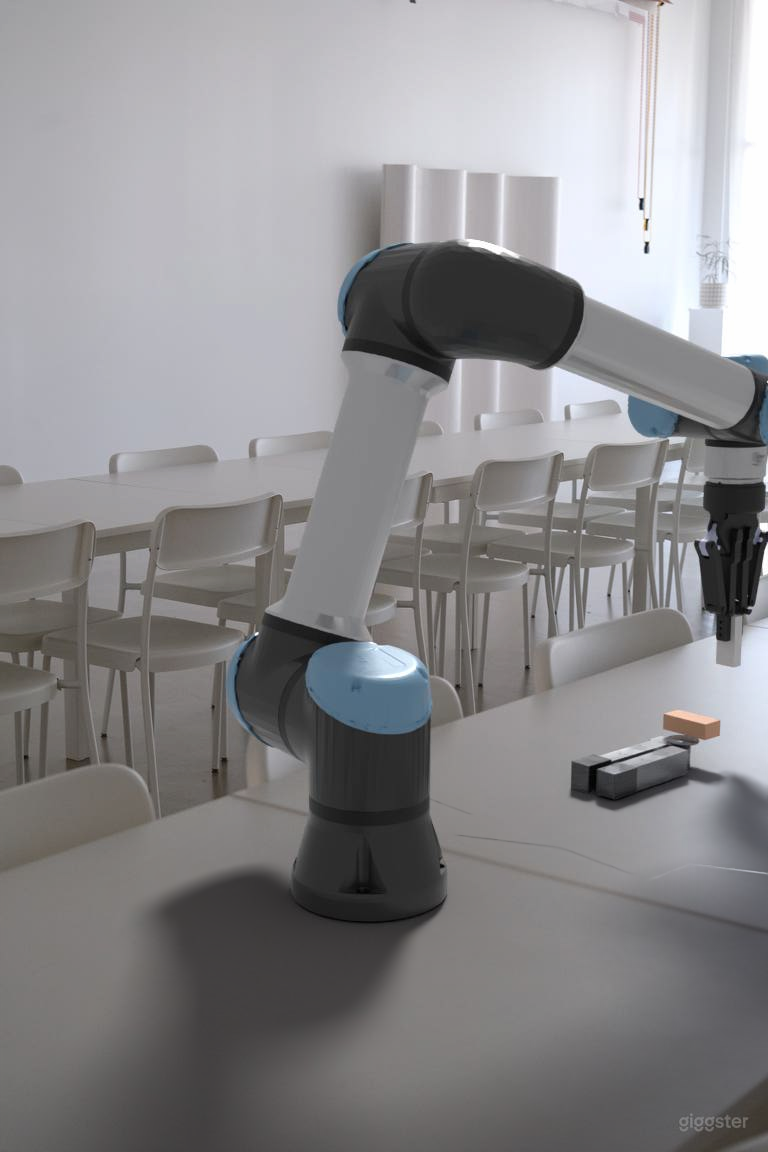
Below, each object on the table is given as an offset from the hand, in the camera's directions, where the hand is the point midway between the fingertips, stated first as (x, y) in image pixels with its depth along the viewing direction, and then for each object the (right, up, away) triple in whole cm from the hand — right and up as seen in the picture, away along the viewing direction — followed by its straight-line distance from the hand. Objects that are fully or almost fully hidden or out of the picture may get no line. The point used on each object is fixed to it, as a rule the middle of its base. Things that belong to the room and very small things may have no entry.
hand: (728, 664), depth 176 cm
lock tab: (-5, -8, -3) cm, 10 cm away
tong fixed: (-14, -13, -8) cm, 21 cm away
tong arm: (-12, -13, -9) cm, 20 cm away
